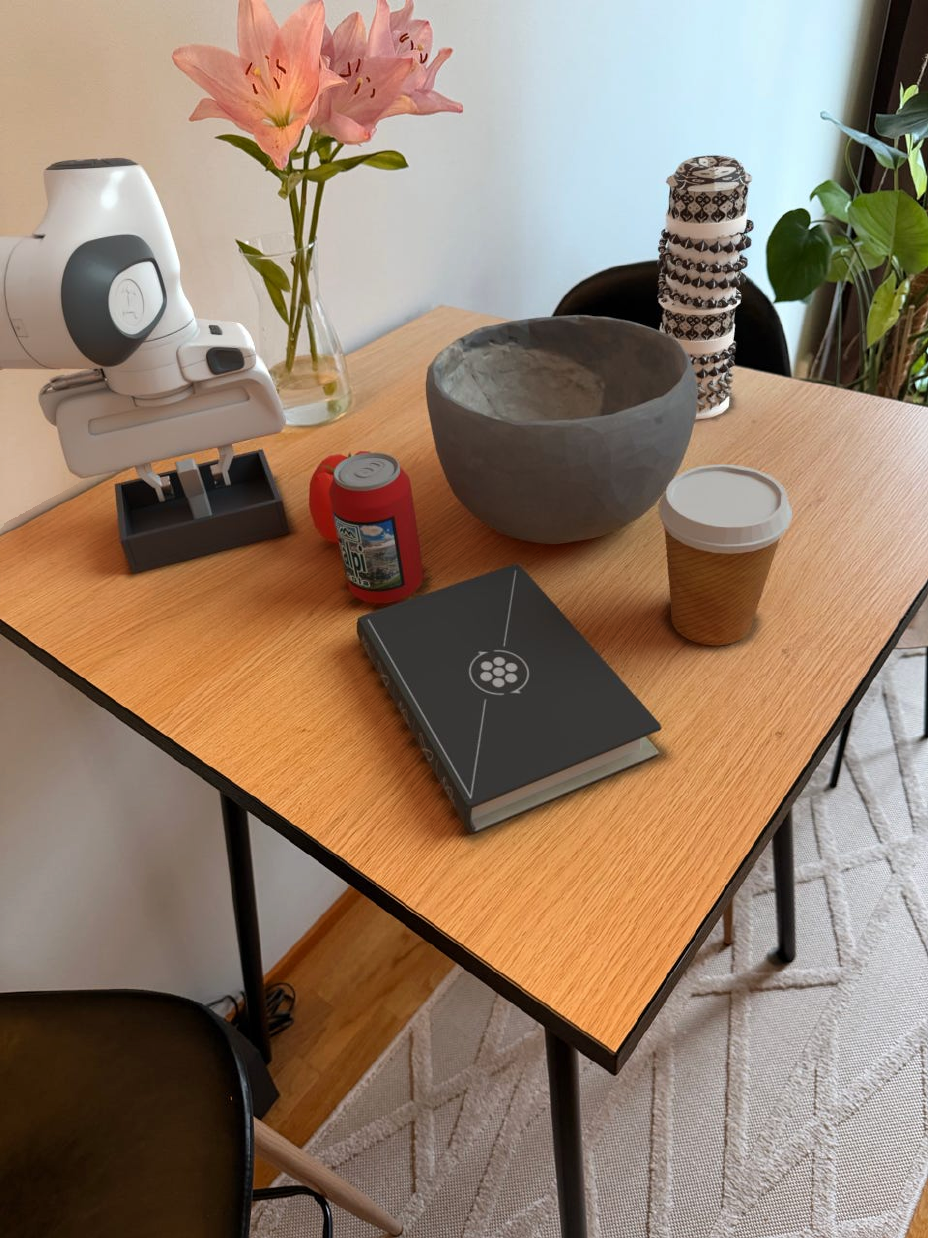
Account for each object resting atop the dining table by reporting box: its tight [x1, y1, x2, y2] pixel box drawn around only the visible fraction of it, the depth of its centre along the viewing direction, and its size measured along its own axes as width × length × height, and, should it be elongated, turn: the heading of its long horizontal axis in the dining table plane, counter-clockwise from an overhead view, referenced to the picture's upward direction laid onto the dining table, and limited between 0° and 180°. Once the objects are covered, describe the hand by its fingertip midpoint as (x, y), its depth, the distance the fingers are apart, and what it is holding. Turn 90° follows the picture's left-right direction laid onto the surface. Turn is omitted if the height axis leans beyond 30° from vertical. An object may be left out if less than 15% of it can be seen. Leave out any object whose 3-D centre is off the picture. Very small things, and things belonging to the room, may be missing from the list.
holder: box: [114, 448, 291, 575], centre depth 90 cm, size 15×11×4 cm
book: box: [356, 562, 663, 835], centre depth 68 cm, size 22×15×3 cm
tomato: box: [308, 450, 372, 544], centre depth 85 cm, size 9×9×8 cm
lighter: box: [174, 457, 212, 519], centre depth 88 cm, size 7×2×8 cm, turn 19°
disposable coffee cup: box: [657, 463, 793, 646], centre depth 70 cm, size 10×10×12 cm
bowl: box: [425, 314, 698, 545], centre depth 84 cm, size 24×24×15 cm
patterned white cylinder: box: [657, 155, 755, 421], centre depth 95 cm, size 9×9×25 cm
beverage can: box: [329, 452, 424, 604], centre depth 77 cm, size 7×7×12 cm
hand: (195, 490), depth 89 cm, fingers open, 4 cm apart
